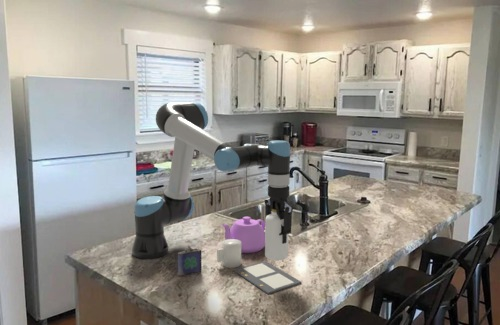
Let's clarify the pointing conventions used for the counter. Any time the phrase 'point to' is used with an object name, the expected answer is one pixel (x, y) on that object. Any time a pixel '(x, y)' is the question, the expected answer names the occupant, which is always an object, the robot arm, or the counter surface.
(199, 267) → the flask
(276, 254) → the white bottle
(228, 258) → the mug
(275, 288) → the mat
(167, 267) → the counter surface
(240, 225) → the teapot
